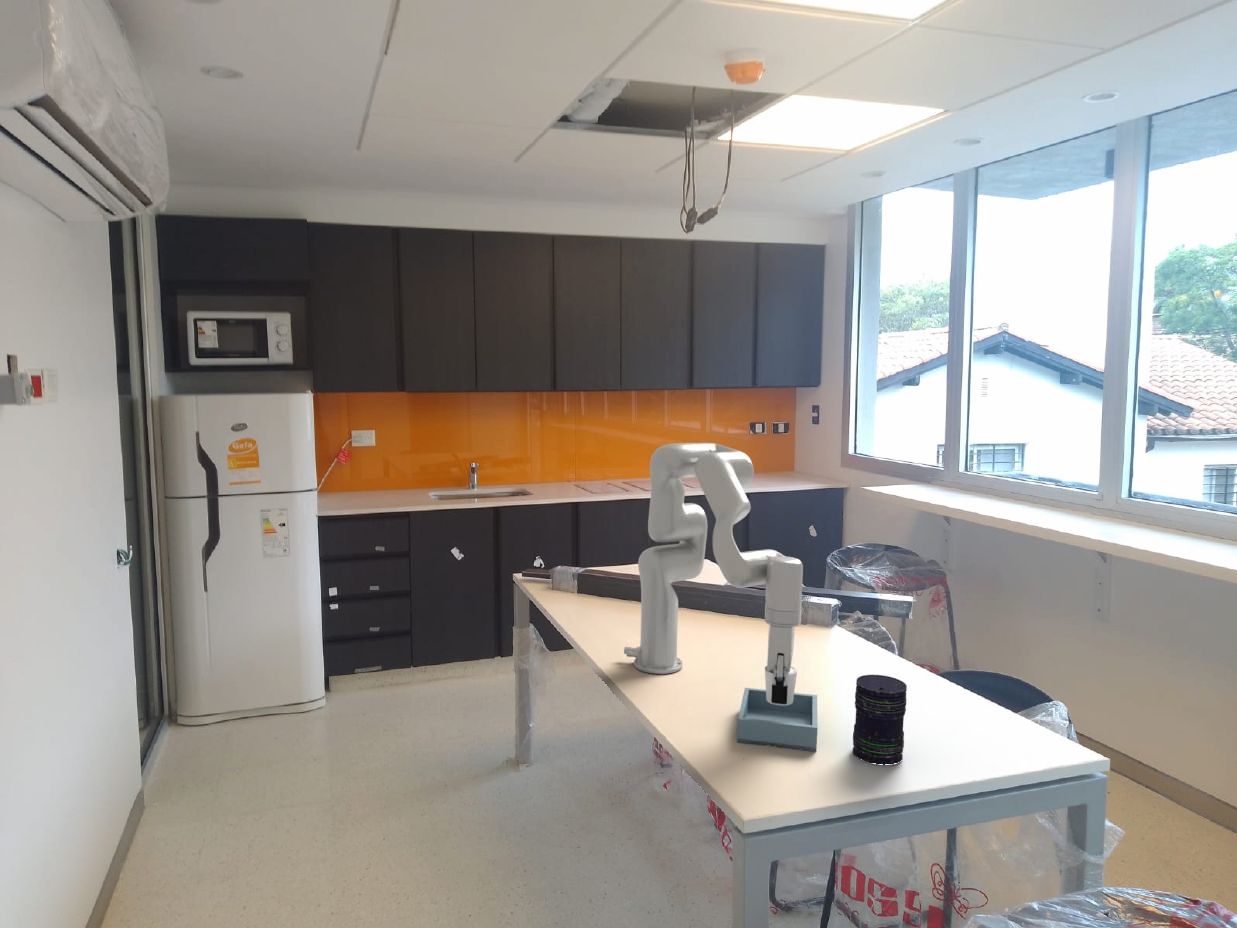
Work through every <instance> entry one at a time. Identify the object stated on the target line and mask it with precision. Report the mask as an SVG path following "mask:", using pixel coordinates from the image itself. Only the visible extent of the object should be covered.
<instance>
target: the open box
mask: <svg viewBox="0 0 1237 928" xmlns="http://www.w3.org/2000/svg"><path fill="white" fill-rule="evenodd" d="M737 717H738V718H737V731H736V743H742V744H748V743H749V745H759V746H765V745H770V746H769V747H773V746H776V747H775V748H781V747H782V748H783V749H790V750H791V749H793V750H798V749H802V750H801V751H807V750H808V751H807V752H815V751H816V752H817V747H818V744H817V743H818V695H817V694H811V693H799V692H794V698H793V703H792V704H790V705H785V706H781V705H774V704H771V703H769V702H768V701H767V699H766V689H763V688H751V687H744V690H743V695H742V699H741V703H740V709H739V712H738V716H737Z"/></svg>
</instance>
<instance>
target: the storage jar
mask: <svg viewBox="0 0 1237 928" xmlns="http://www.w3.org/2000/svg"><path fill="white" fill-rule="evenodd" d="M855 684H856V686H855V693H854V699H855V701H854V708H855V722H854V725H853V733H852V745H853V748H852V755H854V757H855V756H856V757H855V758H857V757H858V758H859V759H858V758H857V759H858V760H860V759H862V760H864V761H866V762H869V763H876V764H883V765H885V764H894V763H898V762H900V761H901V760H902V761H903V758H904V757H903V753H904V746H905V732H904V717H905V715H906V711H907V708H906V706H907V691H908V689H907V687H908V686H907V684H906V682H904V681H903V680H901V679H898V678H895V677H893V676H888V675H885V674H884V675H883V674H882V675H881V674H865V675H861V676H858V677H857V678H856V682H855ZM862 760H861V761H862ZM864 761H863V762H864ZM902 761H901V762H902ZM866 762H865V763H866ZM901 762H900V763H901ZM869 763H868V764H869Z"/></svg>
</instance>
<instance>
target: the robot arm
mask: <svg viewBox="0 0 1237 928" xmlns="http://www.w3.org/2000/svg"><path fill="white" fill-rule="evenodd" d="M649 474H650V484H651V486H650V487H651V488H650V489H651V490H650V500H649V507H648V508H649V509H648V510H649V511H648V521H647V523H648V524H647V531H648V532H647V533H648V535H649V537H650V539H651V540H653V541H654V542H655V543H673V542H675V544H665V545H664V544H663V545H657V546H652V547H649V548H646V549H645V550H643V551H642V553H640V555H639V557H638V560H637V561H638V563H637V565H638V566H637V567H638V573H639V578H640V579H639V580H640V590H641V591H640V592H641V593H640V595H641V596H640V597H641V601H640V604H641V605H640V609H641V610H640V614H641V615H640V641H639V642H640V644H639V645H640V646H636V647H632V646H624V648H623V649H624V650H623V654H624V655H626V657H629V658H635V659H634V660H633V666H634V668H635V669H638V670H639V671H641V672H644V673H648V674H656V675H657V674H659V675H664V674H666V675H667V674H672V673H673V674H674V673H676V672H678V671H680V670H682V668H683V660H681V659H680V658H678V655H677V654H678V623H679V598H678V595H677V592H676V591H675V590H674V588H673V586H672V583H675V582H682V581H687V580H692V579H695V578H697V577H699V575H700V574H701V572H702V571H703V568H704V564H705V563H704V562H705V555H706V545H707V538H708V518H707V515H706V512H705V510H704V509H703V508H702V507H701V505H699V504H697V503H692V502H689V503H685V494H686V492H685V491H686V490H685V486H684V484H683V481H682V479H684V478H685V479H687V478H688V479H689V478H696V479H697V480H698V483H699V485H700V488H701V490H702V491H703V494H704V496H705V498H706V501H707V502H708V504H709V507H710V509H711V511H712V513H713V515H714V518H715V525H714V527H713V531H712V552H713V556H714V558H715V561H716V563H717V565H718V567H719V569H720V571H721V573H722V575H723V577H724V579H725V581H727V582H728V583H729V584H730V585H731V586H733V587H734V588H738V589H739V588H740V589H742V588H750V587H755V586H763V585H765V603H764V604H765V606H764V622H765V623H766V624H768V625H769V627H768V634H767V636H768V639H767V658H766V659H767V662H766V666H767V670H768V671H770V670H773V668H774V671H773V672H774V676H773V684H772V698H771V702H772V703H776V704H787V688H788V685H786V682H787V673H788V672H790V668H791V667H792V663H793V656H794V655H793V654H794V646H795V645H794V644H795V631H796V629H795V628H796V627H798V626H801V624H802V623H801V622H802V604H803V603H802V600H803V599H802V597H803V580H804V579H803V576H804V575H803V574H804V565H803V562H802V561H801V560H800V559H799V558H796V557H792V556H786V555H783V554H782V553H781V552H778V551H777V550H775V549H770V548H769V549H767V548H766V549H759V550H757V549H756V550H749V551H742V552H741V551H740V549H739V548H738V546H737V544H736V541H735V537H734V534H733V527H734V525H735V524H737V523H738V522H740V521H741V520H743V519H744V518H746V517H747V516H748V514H749V513H750V512H751V509H752V507H751V502H750V500H749V498H748V497H747V494H746V492H745V490H744V488H743V487H745V486H747V485H748V484H750V483H751V482H752V480H753V479H754V474H755V470H754V465H753V463H752V460H751V458H750V457H749V456H748V455H747V454H746V453H745V452H743V451H740V450H739V449H738V450H737V449H735V448H732V447H728V446H725V445H722V444H719V443H714V442H685V443H684V442H683V443H677V442H676V443H670V444H665V445H661V446H660V447H658V448H656V449H655V450H654V451H653V453H652V455H651V458H650V462H649ZM681 478H682V479H681ZM676 542H679V543H676ZM776 667H777V670H776ZM783 668H785V671H783ZM776 673H777V676H776ZM783 674H784V676H783Z"/></svg>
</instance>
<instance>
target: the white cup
mask: <svg viewBox="0 0 1237 928" xmlns="http://www.w3.org/2000/svg"><path fill="white" fill-rule="evenodd" d="M776 670H777V667H776ZM773 671H774V668H773V670H770V671H768V670H767V665H765V667H764V677H765V678H764V679H765V690H766V699H767V701H768V702H769V703H771V704H774V705H781V706H785V705H790V704H792V703H793V698H794V693H795V689H796V682H797V677H798V675H797V674H798V670H797V668H796V667H794V666H791V668H790V672H788V673H787V682H786V685H788V688H787V704H776V703H772V702H771V698H772V684H773V676H774V672H773ZM783 671H785V668H783ZM776 676H777V673H776ZM783 676H784V674H783Z"/></svg>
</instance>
